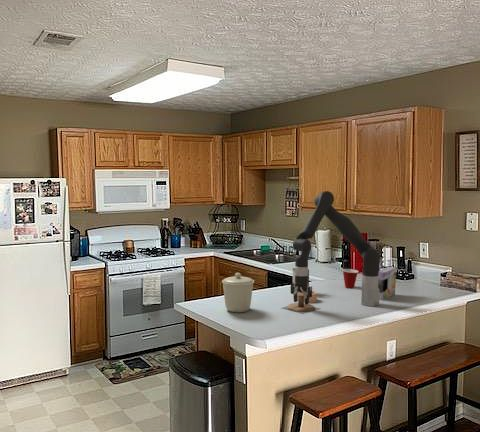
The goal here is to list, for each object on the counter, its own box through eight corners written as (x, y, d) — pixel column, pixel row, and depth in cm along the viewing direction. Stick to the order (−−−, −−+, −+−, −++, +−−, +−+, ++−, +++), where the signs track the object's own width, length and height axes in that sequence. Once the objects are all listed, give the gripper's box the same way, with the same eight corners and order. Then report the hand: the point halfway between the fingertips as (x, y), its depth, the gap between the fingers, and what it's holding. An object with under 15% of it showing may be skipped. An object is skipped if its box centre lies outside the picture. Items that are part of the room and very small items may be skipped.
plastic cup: (358, 289, 327) (359, 271, 326) (341, 289, 329) (342, 271, 328) (358, 286, 337) (358, 268, 336) (341, 285, 339) (342, 268, 338)
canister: (234, 316, 263) (234, 277, 262) (215, 309, 278) (215, 272, 276) (260, 311, 274) (261, 273, 272) (241, 304, 288) (241, 268, 287)
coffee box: (305, 292, 319) (306, 267, 318) (309, 294, 313) (309, 269, 312) (292, 292, 317) (292, 268, 316) (295, 295, 311) (295, 269, 310)
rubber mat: (321, 309, 278) (321, 308, 278) (302, 314, 267) (302, 313, 267) (299, 303, 290) (299, 303, 290) (280, 308, 279) (280, 308, 279)
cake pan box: (381, 300, 298) (382, 271, 297) (373, 299, 302) (374, 270, 300) (396, 295, 312) (396, 267, 311) (388, 294, 316) (389, 266, 314)
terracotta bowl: (320, 300, 297) (320, 292, 297) (307, 304, 290) (308, 295, 289) (305, 297, 306) (305, 289, 305) (293, 300, 298) (293, 292, 297)
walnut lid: (319, 308, 278) (320, 296, 278) (302, 313, 268) (302, 300, 268) (299, 303, 289) (299, 291, 289) (282, 308, 279) (282, 295, 278)
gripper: (315, 275, 274) (315, 304, 276) (296, 271, 285) (295, 299, 286) (307, 277, 269) (306, 306, 271) (287, 273, 280) (287, 301, 281)
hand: (301, 303), depth 278 cm, fingers open, 7 cm apart
